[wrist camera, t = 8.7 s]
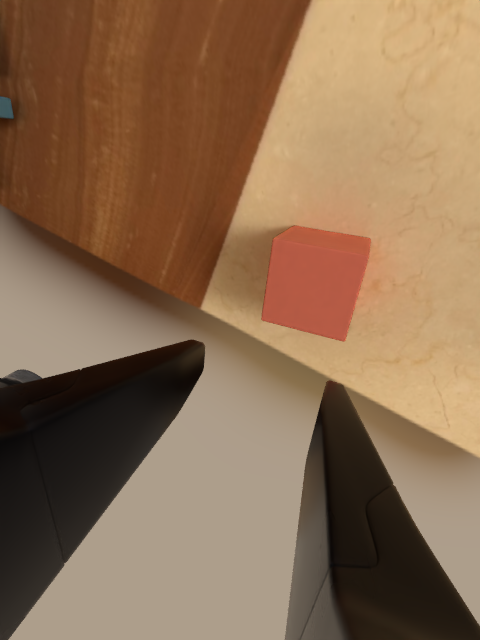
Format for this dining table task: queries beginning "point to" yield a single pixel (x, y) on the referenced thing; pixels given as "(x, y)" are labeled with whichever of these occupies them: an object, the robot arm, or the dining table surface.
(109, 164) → the dining table surface
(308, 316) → the terracotta rounded cube
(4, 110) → the open handled drawer
